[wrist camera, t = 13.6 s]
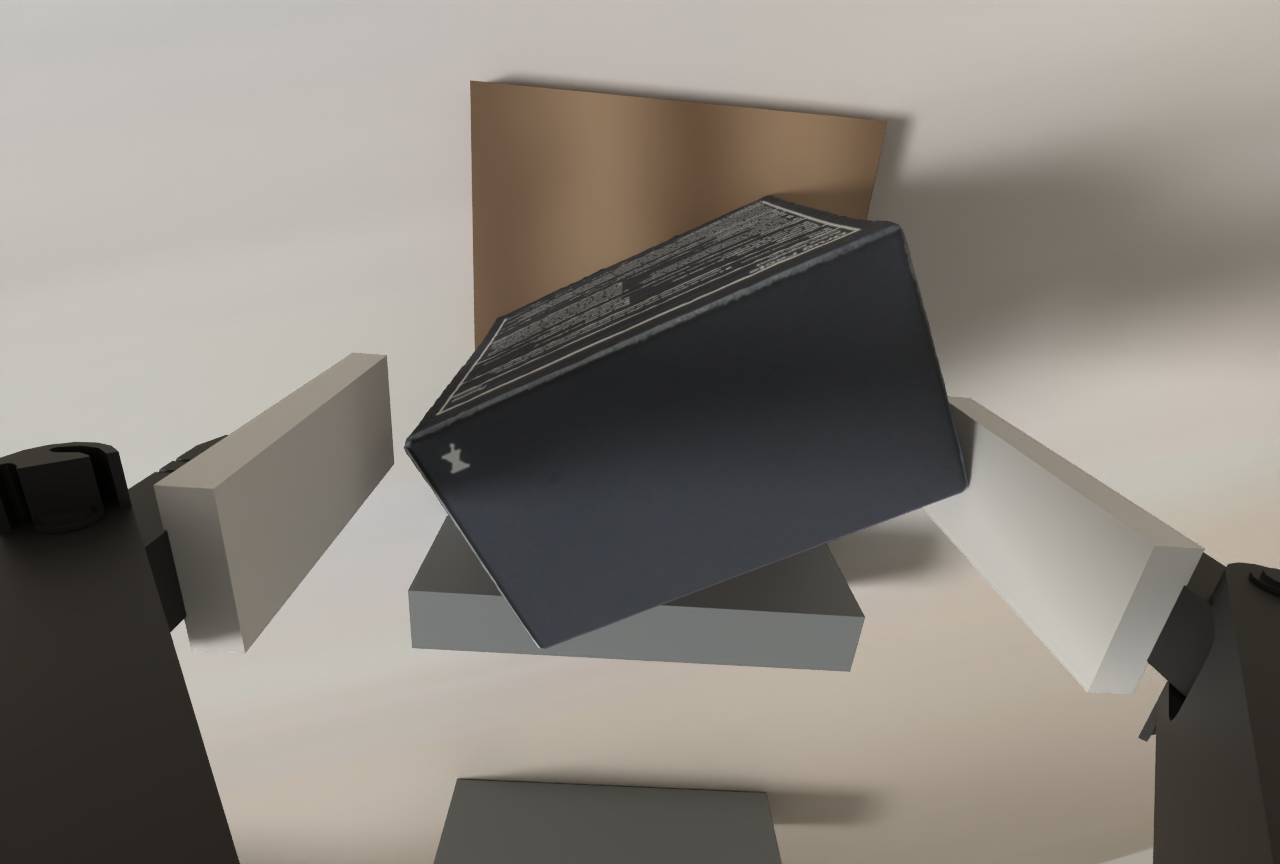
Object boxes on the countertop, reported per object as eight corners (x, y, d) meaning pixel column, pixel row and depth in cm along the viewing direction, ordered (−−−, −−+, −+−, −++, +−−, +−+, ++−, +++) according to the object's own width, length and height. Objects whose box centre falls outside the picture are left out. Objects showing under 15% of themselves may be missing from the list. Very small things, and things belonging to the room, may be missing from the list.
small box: (571, 470, 24) (534, 670, 15) (489, 318, 22) (379, 437, 12) (833, 363, 23) (983, 506, 13) (774, 186, 20) (905, 204, 11)
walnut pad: (483, 497, 26) (477, 509, 25) (477, 84, 20) (470, 80, 19) (794, 517, 26) (800, 530, 26) (875, 123, 21) (887, 121, 20)
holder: (458, 812, 33) (430, 917, 28) (447, 516, 26) (408, 590, 22) (758, 825, 34) (779, 928, 29) (824, 540, 27) (865, 617, 22)
